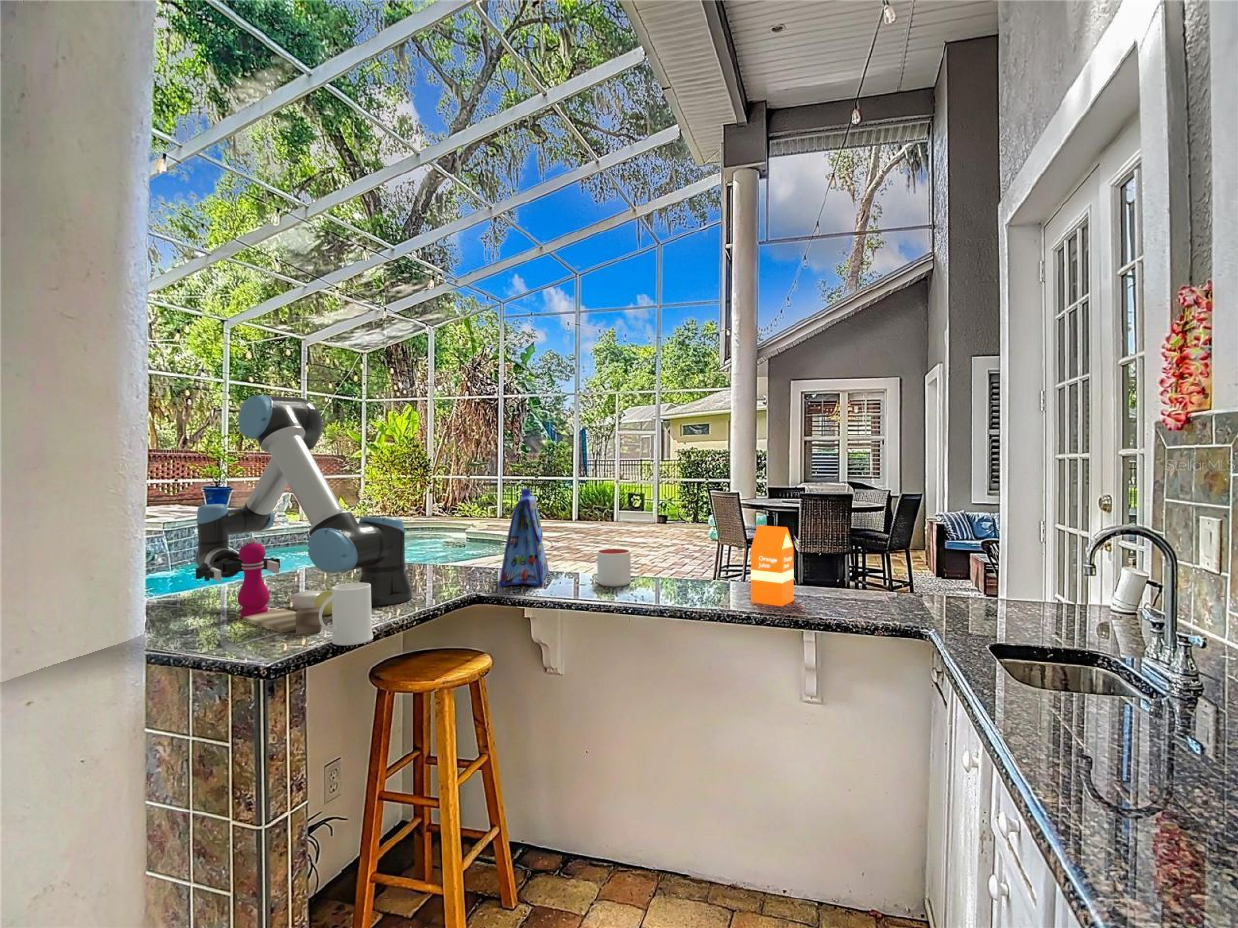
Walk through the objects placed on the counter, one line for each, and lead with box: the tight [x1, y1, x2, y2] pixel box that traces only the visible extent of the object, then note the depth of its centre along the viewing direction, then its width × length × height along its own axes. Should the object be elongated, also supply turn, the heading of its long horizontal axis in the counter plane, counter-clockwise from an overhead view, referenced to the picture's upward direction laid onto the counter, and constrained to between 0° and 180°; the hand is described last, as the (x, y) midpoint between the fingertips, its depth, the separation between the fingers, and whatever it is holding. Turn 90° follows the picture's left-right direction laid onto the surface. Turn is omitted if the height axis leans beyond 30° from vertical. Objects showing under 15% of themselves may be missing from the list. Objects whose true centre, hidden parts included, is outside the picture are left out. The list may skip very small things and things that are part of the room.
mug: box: [319, 581, 374, 646], centre depth 149 cm, size 12×8×12 cm
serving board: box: [242, 608, 296, 634], centre depth 166 cm, size 18×10×1 cm, turn 54°
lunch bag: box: [499, 487, 550, 587], centre depth 214 cm, size 22×14×29 cm, turn 1°
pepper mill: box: [237, 536, 271, 618], centre depth 174 cm, size 7×7×20 cm
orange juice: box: [750, 524, 795, 607], centre depth 181 cm, size 8×9×20 cm
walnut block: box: [295, 607, 322, 636], centre depth 158 cm, size 5×5×5 cm
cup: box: [596, 548, 632, 588], centre depth 206 cm, size 10×10×10 cm
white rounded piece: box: [291, 590, 325, 610], centre depth 183 cm, size 8×8×4 cm
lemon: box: [314, 590, 332, 616], centre depth 173 cm, size 6×6×6 cm
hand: (249, 572), depth 175 cm, fingers open, 13 cm apart
